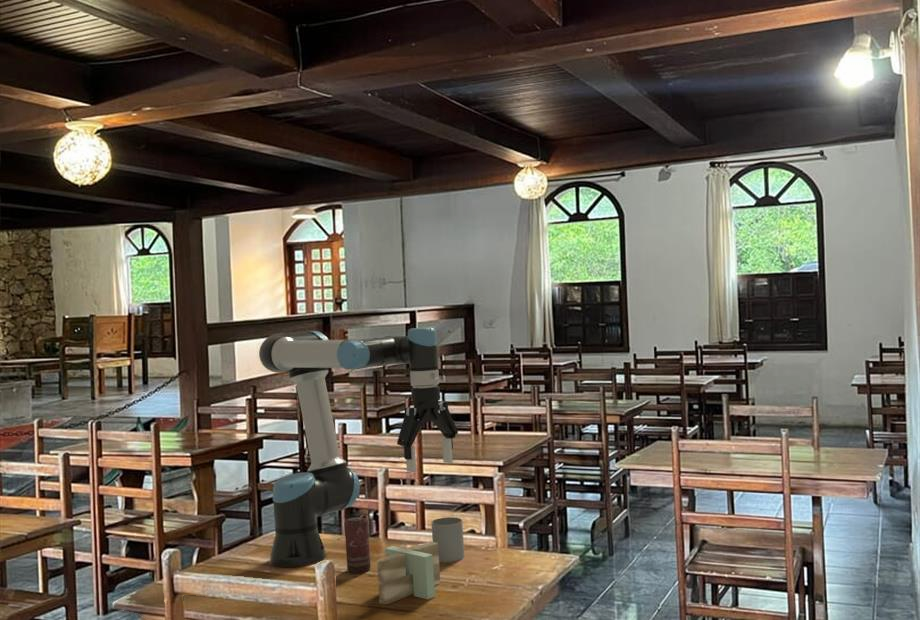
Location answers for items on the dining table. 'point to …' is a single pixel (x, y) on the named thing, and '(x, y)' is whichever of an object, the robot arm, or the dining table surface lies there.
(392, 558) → the birch plate
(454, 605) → the dining table surface
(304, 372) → the robot arm
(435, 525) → the cup
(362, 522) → the can
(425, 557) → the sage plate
